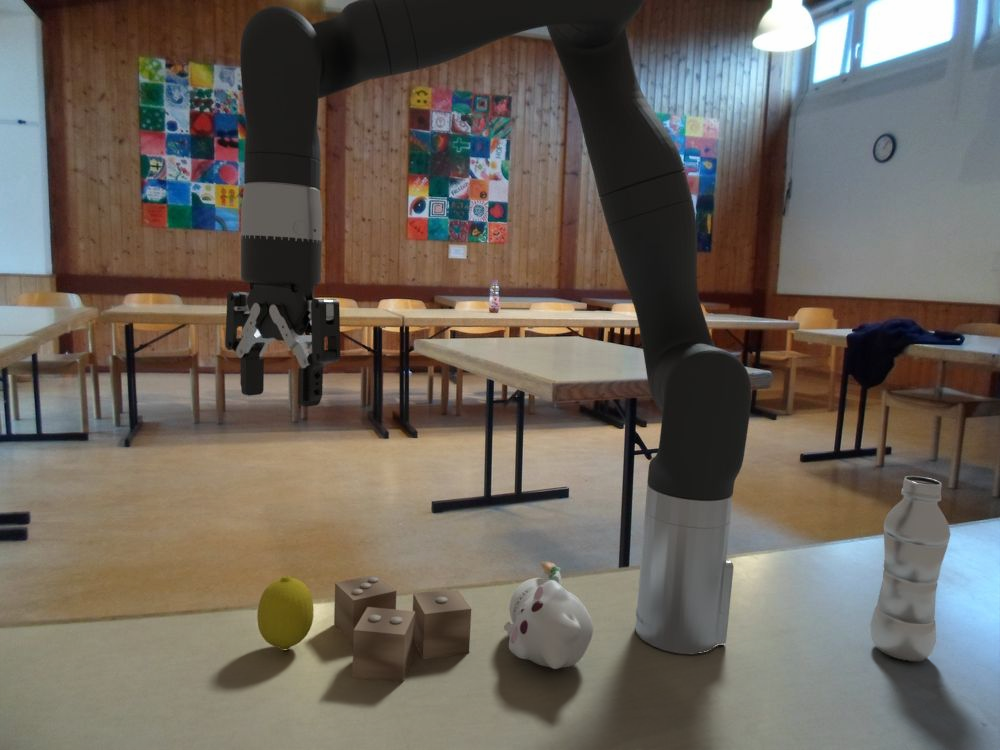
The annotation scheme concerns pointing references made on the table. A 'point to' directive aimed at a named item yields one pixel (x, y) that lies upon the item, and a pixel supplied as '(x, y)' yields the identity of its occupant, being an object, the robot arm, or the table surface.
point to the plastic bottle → (911, 572)
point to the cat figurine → (548, 621)
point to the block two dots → (383, 644)
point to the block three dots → (360, 601)
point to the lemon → (285, 612)
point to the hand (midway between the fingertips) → (279, 399)
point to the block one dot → (441, 623)
